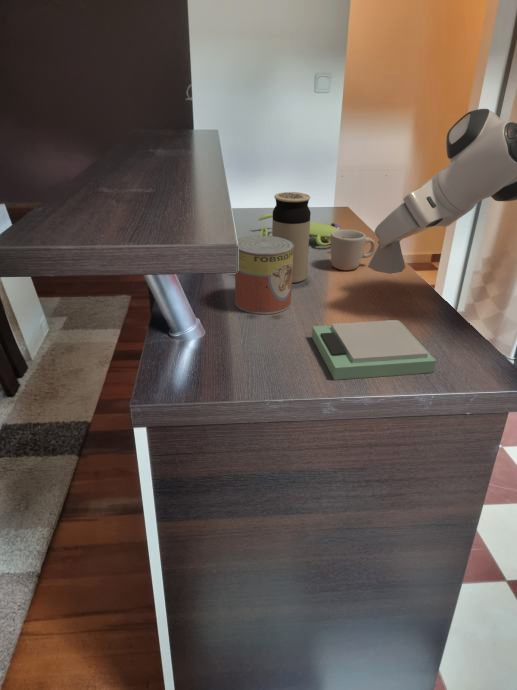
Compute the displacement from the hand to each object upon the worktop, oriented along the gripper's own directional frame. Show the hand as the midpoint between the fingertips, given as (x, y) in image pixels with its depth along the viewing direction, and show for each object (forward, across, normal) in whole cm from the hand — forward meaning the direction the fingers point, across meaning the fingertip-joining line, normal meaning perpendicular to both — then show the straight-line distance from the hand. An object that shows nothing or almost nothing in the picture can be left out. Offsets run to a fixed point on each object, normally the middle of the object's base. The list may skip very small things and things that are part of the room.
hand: (387, 242), depth 103 cm
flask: (+4, 0, +4) cm, 6 cm away
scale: (-1, +24, +17) cm, 30 cm away
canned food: (+18, +22, -2) cm, 28 cm away
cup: (+17, -9, -2) cm, 19 cm away
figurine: (+32, -16, -17) cm, 40 cm away
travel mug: (+21, +7, -6) cm, 23 cm away
